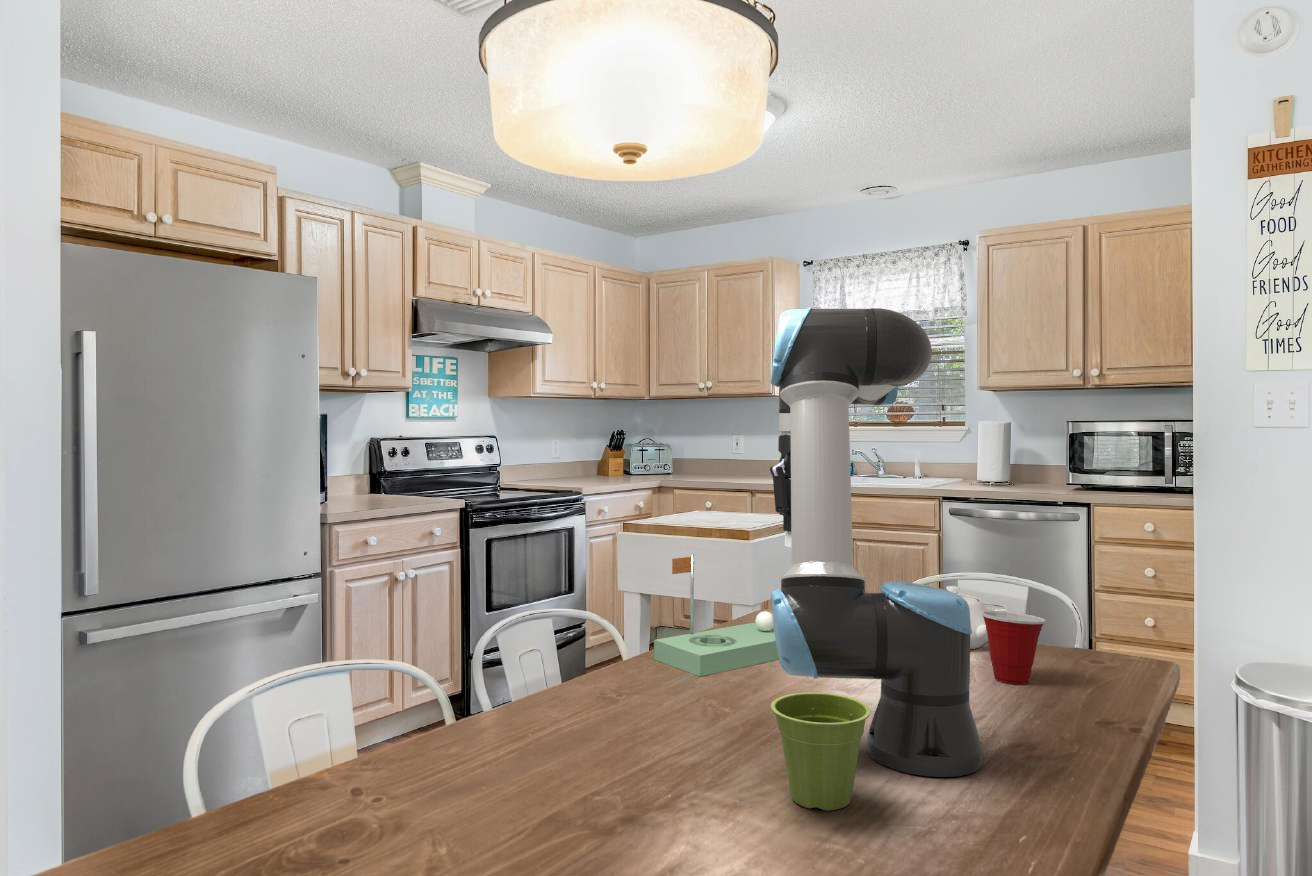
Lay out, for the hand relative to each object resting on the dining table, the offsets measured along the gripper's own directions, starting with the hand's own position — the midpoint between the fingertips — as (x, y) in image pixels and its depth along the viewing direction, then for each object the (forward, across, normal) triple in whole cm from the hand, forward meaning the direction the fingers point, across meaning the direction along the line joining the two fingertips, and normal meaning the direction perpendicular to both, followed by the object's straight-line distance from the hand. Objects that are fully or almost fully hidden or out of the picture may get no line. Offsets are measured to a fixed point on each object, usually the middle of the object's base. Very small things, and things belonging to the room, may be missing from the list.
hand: (795, 546), depth 179 cm
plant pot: (+21, -52, -55) cm, 79 cm away
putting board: (+20, -16, 0) cm, 26 cm away
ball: (+15, -8, 0) cm, 17 cm away
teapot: (+21, +28, -20) cm, 40 cm away
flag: (+17, -25, +6) cm, 31 cm away
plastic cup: (+21, +14, -41) cm, 48 cm away
